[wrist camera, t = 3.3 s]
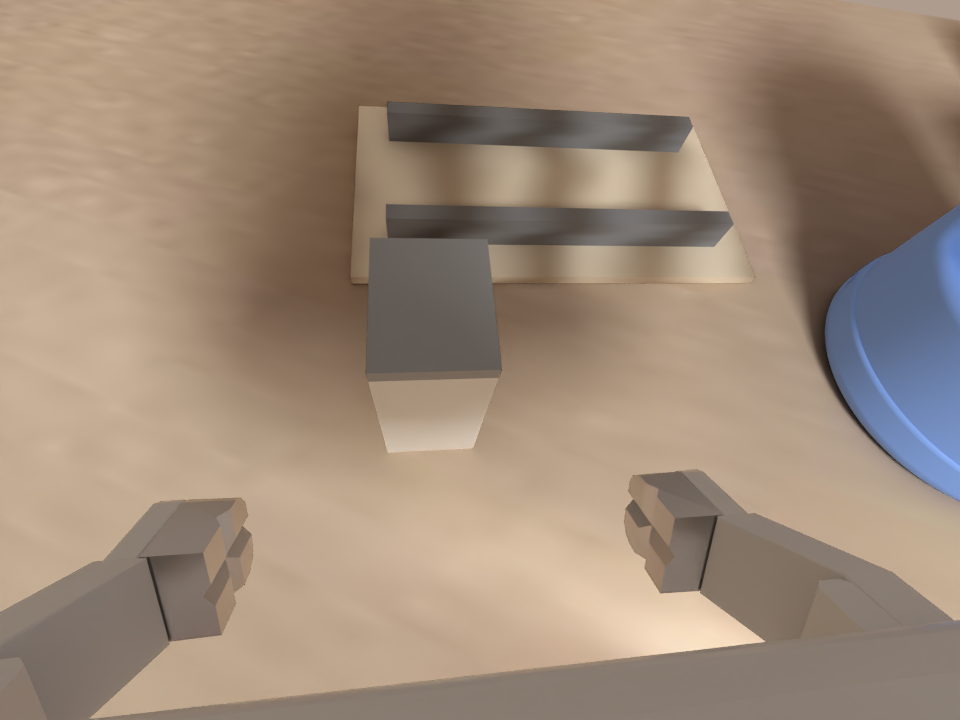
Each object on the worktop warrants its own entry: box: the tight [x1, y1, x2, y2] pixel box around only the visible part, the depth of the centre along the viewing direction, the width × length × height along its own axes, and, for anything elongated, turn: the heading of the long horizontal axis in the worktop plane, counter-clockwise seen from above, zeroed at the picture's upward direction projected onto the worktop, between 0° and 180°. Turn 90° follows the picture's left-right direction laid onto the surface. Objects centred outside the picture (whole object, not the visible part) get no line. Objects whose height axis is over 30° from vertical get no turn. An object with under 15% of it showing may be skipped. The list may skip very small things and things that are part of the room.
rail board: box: [350, 102, 756, 284], centre depth 28 cm, size 24×14×3 cm, turn 95°
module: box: [366, 238, 502, 453], centre depth 18 cm, size 4×5×9 cm
